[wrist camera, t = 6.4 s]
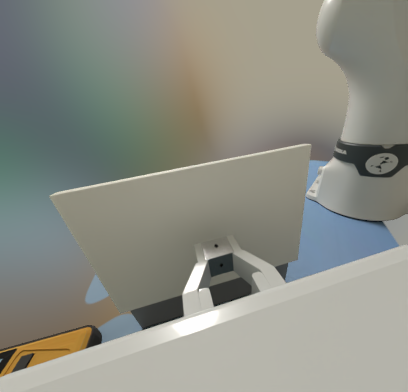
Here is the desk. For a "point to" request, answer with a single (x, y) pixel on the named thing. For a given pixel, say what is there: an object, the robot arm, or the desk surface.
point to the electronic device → (47, 348)
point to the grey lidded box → (175, 305)
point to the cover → (187, 221)
